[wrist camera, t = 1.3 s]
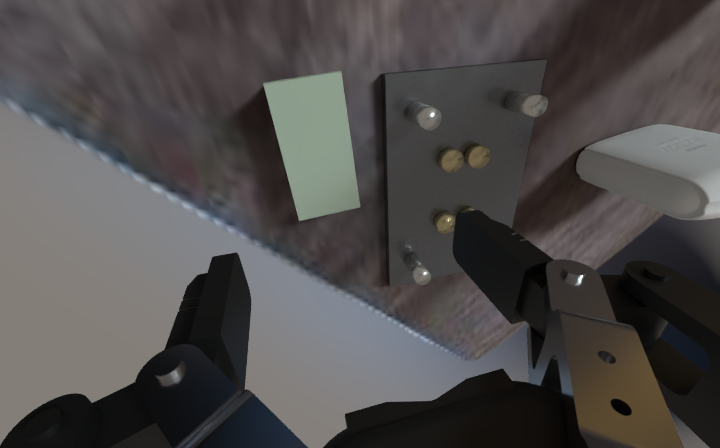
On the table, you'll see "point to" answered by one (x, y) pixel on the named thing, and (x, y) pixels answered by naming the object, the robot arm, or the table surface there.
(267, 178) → the table surface
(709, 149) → the photo printer
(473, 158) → the plate
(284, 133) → the grey green block
